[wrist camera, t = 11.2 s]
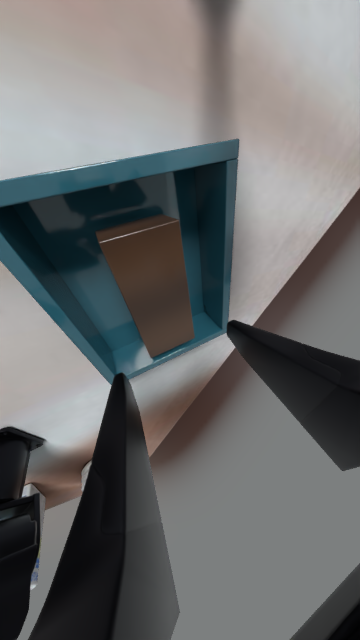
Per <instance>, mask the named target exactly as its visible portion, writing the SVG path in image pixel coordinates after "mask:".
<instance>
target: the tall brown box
mask: <svg viewBox="0 0 360 640" xmlns="http://www.w3.org/2000/svg"><path fill="white" fill-rule="evenodd" d="M95 233H96V237H97V240H98V243H99V245H100V247H101V250H102V252H103V254H104V256H105V258H106V261H107V263H108V265H109V267H110V269H111V272H112V274H113V276H114V278H115V280H116V283H117V285H118V287H119V289H120V291H121V294H122V296H123V298H124V300H125V302H126V305H127V307H128V309H129V311H130V313H131V316H132V318H133V320H134V322H135V325H136V327H137V329H138V331H139V333H140V336H141V338H142V340H143V342H144V344H145V347H146V349H147V351H148V353H149V355H150V358H153V357H155V356H157V355H159V354H161V353H164V352H166V351H168V350H170V349H172V348H174V347H176V346H179V345H181V344H183V343H185V342H187V341H189V340H191V339H194V338H195V335H194V328H193V320H192V313H191V306H190V298H189V291H188V283H187V276H186V268H185V261H184V254H183V246H182V239H181V231H180V224H179V220H177V219H175V218H172V217H169V216H166V215H163V214H158V215H154V216H150V217H146V218H143V219H139V220H135V221H131V222H127V223H124V224H120V225H116V226H112V227H109V228H105V229H101V230H97V231H95Z"/></svg>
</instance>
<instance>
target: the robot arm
mask: <svg viewBox="0 0 360 640" xmlns="http://www.w3.org/2000/svg"><path fill="white" fill-rule="evenodd" d="M227 335H228V337H229V338H230V340H231V341H232V343H233V344H234V346H235V347H236V348H237V350H238V351H239V353H240V354H241V356H242V357H243V358H244V359H245V360H246V362H247V363H248V364H249V365H250V366H251V367H252V368H253V370H254V371H255V372H256V373H257V374H258V375H259V376H260V378H261V379H262V380H263V381H264V382H265V383H266V385H267V386H268V387H269V388H270V389H271V390H272V391H273V393H274V394H275V395H276V396H277V397H278V398H279V399H280V401H281V402H282V403H283V404H284V405H285V406H286V407H287V409H288V410H289V411H290V412H291V413H292V414H293V415H294V417H295V418H296V419H297V420H298V421H299V422H300V424H301V425H302V426H303V427H304V428H305V429H306V431H307V432H308V433H309V434H310V435H311V436H312V437H313V439H314V440H315V441H316V442H317V443H318V444H319V445H320V447H321V448H322V449H323V450H324V451H325V452H326V453H327V455H328V456H329V457H330V458H331V459H332V460H333V462H334V463H335V464H336V465H337V466H338V467H339V468H340V469H341V470H342V471H345V470H349V469H353V468H356V467H360V361H359V360H355V359H352V358H348V357H344V356H340V355H337V354H334V353H330V352H326V351H323V350H320V349H317V348H314V347H311V346H308V345H305V344H302V343H299V342H297V341H294V340H291V339H288V338H285V337H282V336H279V335H276V334H273V333H270V332H268V331H265V330H261V329H259V328H256V327H253V326H250V325H247V324H245V323H242V322H239V321H236V320H232V321H230V322H228V323H227ZM42 445H43V440H42V439H39V438H36V437H33V436H31V435H28V434H25V433H23V432H20V431H17V430H15V429H12V428H3V429H1V430H0V640H16V639H17V638H18V636H19V634H20V632H21V629H22V627H23V624H24V621H25V619H26V616H27V613H28V610H29V599H30V586H31V576H32V573H33V570H34V568H35V565H36V561H37V557H38V553H39V547H40V536H41V532H40V493H35V494H33V495H31V496H27V497H23V498H22V494H23V489H24V484H25V478H26V473H27V468H28V462H29V457H30V452H31V451H32V450H34V449H36V448H38V447H40V446H42ZM91 463H92V464H91V465H90V468H89V472H88V476H87V479H86V483H85V486H84V490H83V493H82V497H81V500H80V503H79V506H78V509H77V512H76V515H75V518H74V521H73V524H72V527H71V530H70V533H69V536H68V538H67V541H66V544H65V547H64V550H63V553H62V556H61V559H60V562H59V564H58V567H57V570H56V573H55V576H54V579H53V582H52V584H51V587H50V590H49V593H48V596H47V598H46V601H45V603H44V606H43V608H42V610H41V613H40V615H39V618H38V620H37V622H36V624H35V626H34V628H33V630H32V632H31V635H30V637H29V639H28V640H170V639H171V636H172V634H173V630H174V627H175V625H176V622H177V619H178V616H179V613H180V611H179V605H178V601H177V595H176V590H175V585H174V580H173V575H172V570H171V566H170V560H169V555H168V551H167V546H166V540H165V535H164V530H163V526H162V522H161V517H160V511H159V506H158V501H157V496H156V491H155V486H154V481H153V476H152V471H151V466H150V461H149V456H148V451H147V446H146V441H145V436H144V431H143V426H142V421H141V416H140V412H139V409H138V405H137V402H136V399H135V396H134V393H133V390H132V387H131V384H130V382H129V380H128V378H127V377H126V376H125V374H124V373H123V372H121V373H118V374H116V375H115V376H114V378H113V382H112V386H111V389H110V393H109V397H108V401H107V404H106V408H105V412H104V416H103V420H102V423H101V427H100V431H99V435H98V438H97V442H96V446H95V450H94V453H93V457H92V461H91ZM290 640H360V564H359V565H358V566H357V567H356V568H355V569H354V570H353V571H352V572H351V573H350V574H349V575H348V577H347V578H346V579H345V580H344V581H343V582H342V583H341V584H340V585H339V587H337V589H336V590H335V591H334V592H333V593H332V594H331V595H330V596H329V597H328V598H327V599H326V601H325V602H324V603H323V604H322V605H321V606H320V607H319V608H318V609H317V610H316V612H315V613H314V614H313V615H312V616H311V617H310V618H309V619H308V620H307V621H306V622H305V623H304V625H303V626H302V627H301V628H300V629H299V630H298V631H297V632H296V633H295V634H294V635H293V637H292V638H291V639H290Z"/></svg>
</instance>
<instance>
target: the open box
mask: <svg viewBox="0 0 360 640" xmlns="http://www.w3.org/2000/svg"><path fill="white" fill-rule="evenodd" d="M238 152H239V139H233V140H228V141H222V142H216V143H211V144H205V145H199V146H193V147H188V148H182V149H176V150H171V151H165V152H159V153H154V154H148V155H142V156H137V157H131V158H125V159H119V160H114V161H108V162H102V163H97V164H91V165H85V166H80V167H74V168H68V169H63V170H57V171H51V172H45V173H40V174H34V175H28V176H23V177H17V178H11V179H6V180H0V261H1V262H2V263H3V264H4V265H5V266H6V267H7V269H8V270H9V271H10V272H11V273H12V274H13V275H14V276H15V278H16V279H17V280H18V281H19V282H20V283H21V284H22V285H23V287H24V288H25V289H26V290H27V291H28V292H29V293H30V294H31V296H32V297H33V298H34V299H35V300H36V301H37V302H38V303H39V305H40V306H41V307H42V308H43V309H44V310H45V311H46V312H47V314H48V315H49V316H50V317H51V318H52V319H53V320H54V321H55V323H56V324H57V325H58V326H59V327H60V328H61V329H62V330H63V332H64V333H65V334H66V335H67V336H68V337H69V338H70V339H71V341H72V342H73V343H74V344H75V345H76V346H77V347H78V348H79V350H80V351H81V352H82V353H83V354H84V355H85V356H86V357H87V359H88V360H89V361H90V362H91V363H92V364H93V365H94V366H95V368H96V369H97V370H98V371H99V372H100V373H101V374H102V375H103V377H104V378H105V379H106V380H107V381H108V382H109V383H110V384H111V385H112V382H113V378H114V376H115V375H116V374H118V373H121V372H123V373H124V374H125V376H126V377H127V378H128V380H129V379H131V378H133V377H135V376H137V375H140V374H142V373H144V372H146V371H148V370H150V369H152V368H154V367H156V366H158V365H160V364H162V363H164V362H167V361H169V360H171V359H173V358H175V357H177V356H179V355H181V354H183V353H185V352H187V351H189V350H191V349H194V348H196V347H198V346H200V345H202V344H204V343H206V342H208V341H210V340H212V339H214V338H216V337H218V336H220V335H223V334H225V333H227V323H228V317H229V300H230V283H231V267H232V250H233V234H234V217H235V200H236V184H237V167H238V159H237V158H238ZM158 214H163V215H166V216H169V217H172V218H175V219H177V220H179V224H180V231H181V239H182V246H183V254H184V261H185V268H186V276H187V283H188V291H189V298H190V306H191V313H192V320H193V328H194V335H195V338H194V339H191V340H189V341H187V342H185V343H183V344H181V345H179V346H176V347H174V348H172V349H170V350H168V351H166V352H164V353H161V354H159V355H157V356H155V357H153V358H150V355H149V353H148V351H147V349H146V347H145V344H144V342H143V340H142V338H141V336H140V333H139V331H138V329H137V327H136V325H135V322H134V320H133V318H132V316H131V313H130V311H129V309H128V307H127V305H126V302H125V300H124V298H123V296H122V294H121V291H120V289H119V287H118V285H117V283H116V280H115V278H114V276H113V274H112V272H111V269H110V267H109V265H108V263H107V261H106V258H105V256H104V254H103V252H102V250H101V247H100V245H99V243H98V240H97V237H96V233H95V231H97V230H101V229H105V228H109V227H112V226H116V225H120V224H124V223H127V222H131V221H135V220H139V219H143V218H146V217H150V216H154V215H158Z"/></svg>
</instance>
